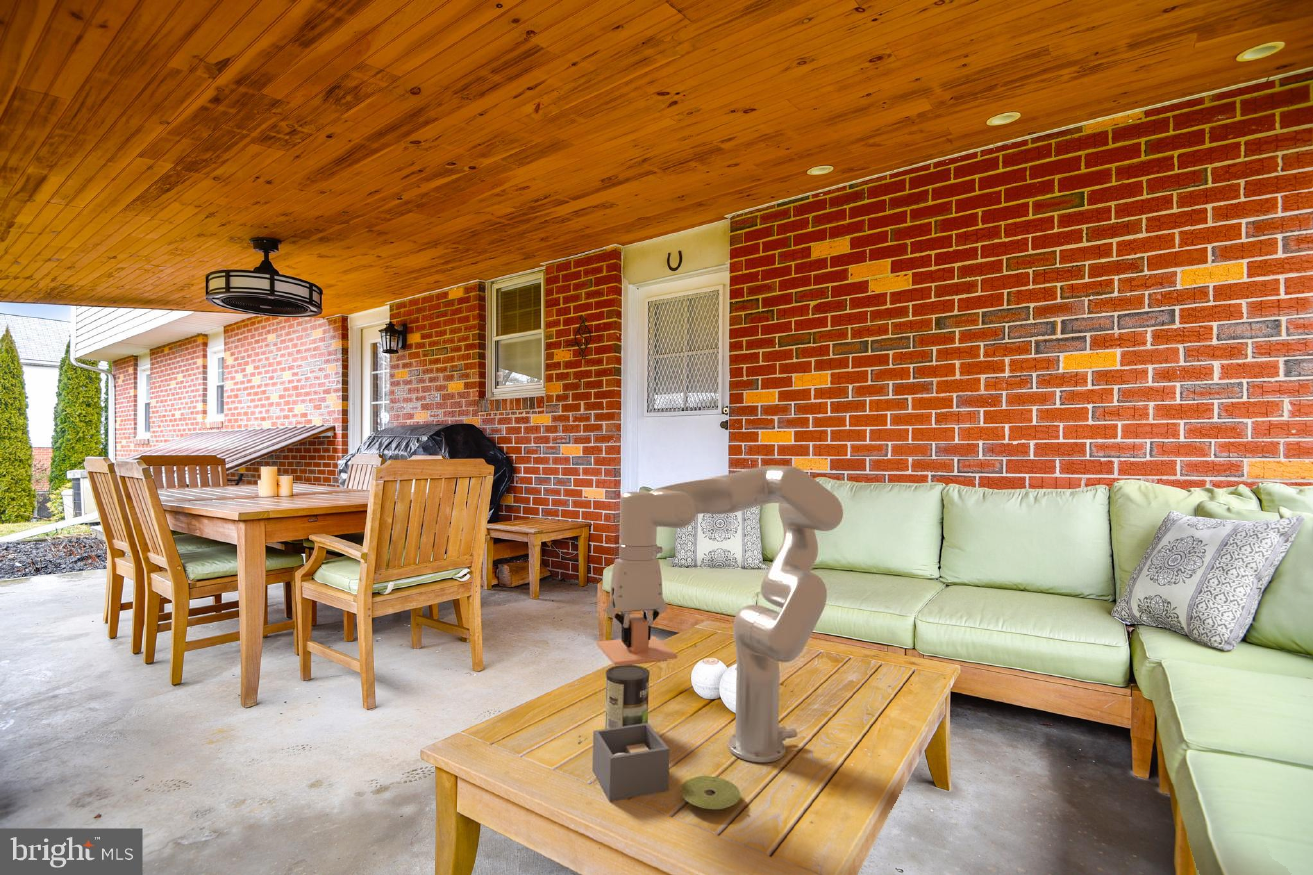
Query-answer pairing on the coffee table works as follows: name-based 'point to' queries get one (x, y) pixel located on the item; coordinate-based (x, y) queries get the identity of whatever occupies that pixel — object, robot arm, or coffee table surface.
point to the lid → (636, 646)
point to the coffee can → (626, 696)
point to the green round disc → (710, 792)
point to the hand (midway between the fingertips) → (635, 644)
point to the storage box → (630, 761)
